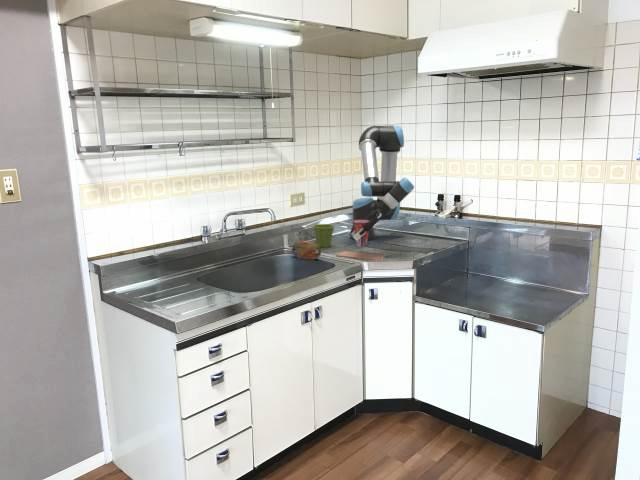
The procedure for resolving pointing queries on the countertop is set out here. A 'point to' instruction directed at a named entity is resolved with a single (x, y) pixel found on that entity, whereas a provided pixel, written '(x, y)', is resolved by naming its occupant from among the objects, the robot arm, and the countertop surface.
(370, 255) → the mat
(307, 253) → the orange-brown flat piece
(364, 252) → the pink thin bar
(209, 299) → the countertop surface
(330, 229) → the plant pot
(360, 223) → the cup
